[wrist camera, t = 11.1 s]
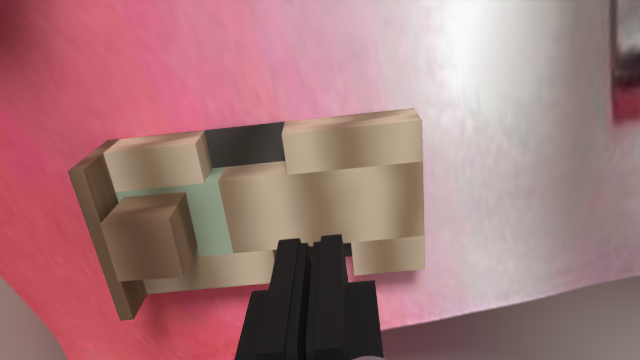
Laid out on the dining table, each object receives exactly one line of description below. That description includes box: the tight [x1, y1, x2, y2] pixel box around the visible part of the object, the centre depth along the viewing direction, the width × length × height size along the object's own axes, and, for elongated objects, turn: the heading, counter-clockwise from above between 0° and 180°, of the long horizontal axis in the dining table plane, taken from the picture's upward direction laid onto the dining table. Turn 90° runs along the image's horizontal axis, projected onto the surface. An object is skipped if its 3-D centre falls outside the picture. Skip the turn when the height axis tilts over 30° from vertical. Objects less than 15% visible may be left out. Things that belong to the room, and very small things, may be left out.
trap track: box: [68, 108, 425, 321], centre depth 35 cm, size 23×12×6 cm, turn 96°
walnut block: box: [100, 192, 197, 282], centre depth 33 cm, size 4×4×4 cm
